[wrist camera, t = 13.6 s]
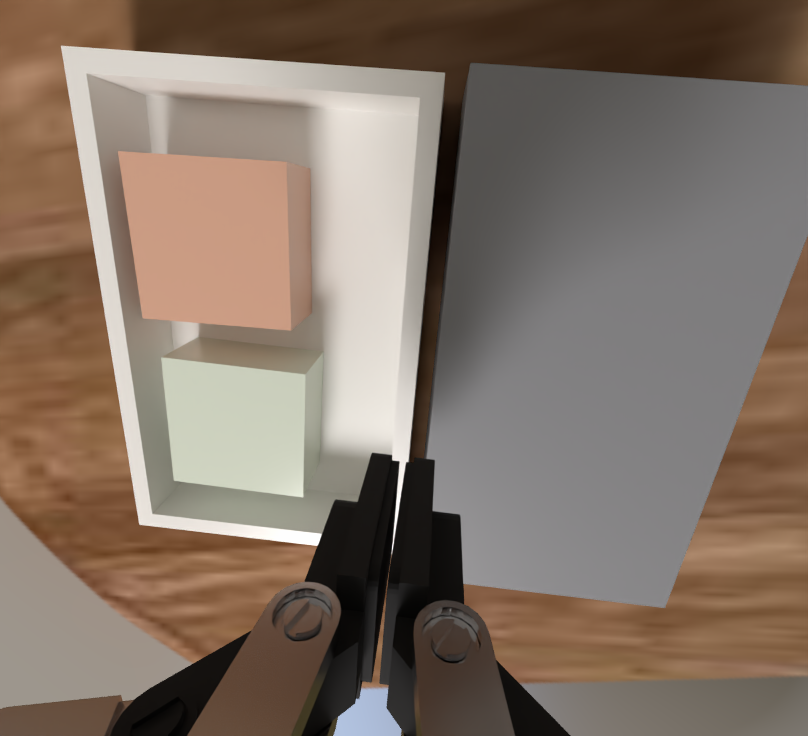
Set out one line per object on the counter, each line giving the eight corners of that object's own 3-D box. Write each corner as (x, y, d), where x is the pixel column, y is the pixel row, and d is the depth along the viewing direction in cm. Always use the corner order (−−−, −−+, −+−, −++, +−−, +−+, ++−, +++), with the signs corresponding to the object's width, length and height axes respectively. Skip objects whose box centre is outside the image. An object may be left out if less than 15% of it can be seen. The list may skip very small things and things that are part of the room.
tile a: (286, 161, 13) (310, 168, 15) (117, 151, 13) (167, 159, 15) (291, 330, 14) (311, 313, 17) (142, 318, 15) (183, 302, 17)
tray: (133, 76, 15) (61, 45, 12) (443, 98, 14) (445, 72, 11) (180, 480, 20) (139, 524, 18) (405, 506, 20) (399, 555, 17)
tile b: (305, 374, 15) (323, 351, 17) (161, 357, 15) (198, 336, 17) (303, 497, 17) (319, 461, 19) (173, 480, 17) (206, 447, 19)
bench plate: (462, 100, 14) (470, 62, 11) (749, 120, 14) (863, 89, 10) (418, 507, 20) (413, 577, 16) (621, 530, 19) (664, 607, 16)
